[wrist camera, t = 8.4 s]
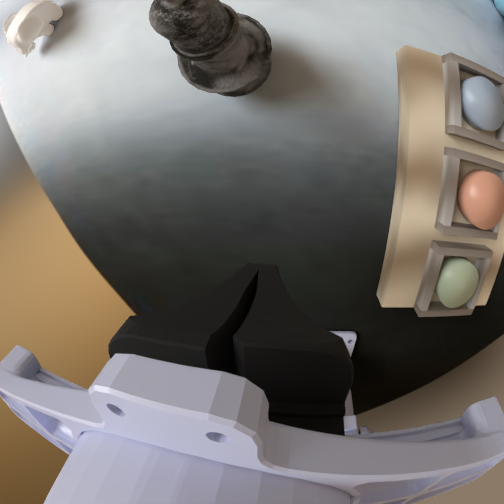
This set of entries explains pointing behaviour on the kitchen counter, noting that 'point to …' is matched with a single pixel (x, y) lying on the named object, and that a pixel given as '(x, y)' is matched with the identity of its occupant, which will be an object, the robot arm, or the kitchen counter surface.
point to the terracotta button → (481, 198)
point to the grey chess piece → (214, 44)
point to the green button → (456, 281)
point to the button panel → (438, 185)
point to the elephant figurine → (31, 24)
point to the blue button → (481, 104)
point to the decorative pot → (499, 6)
